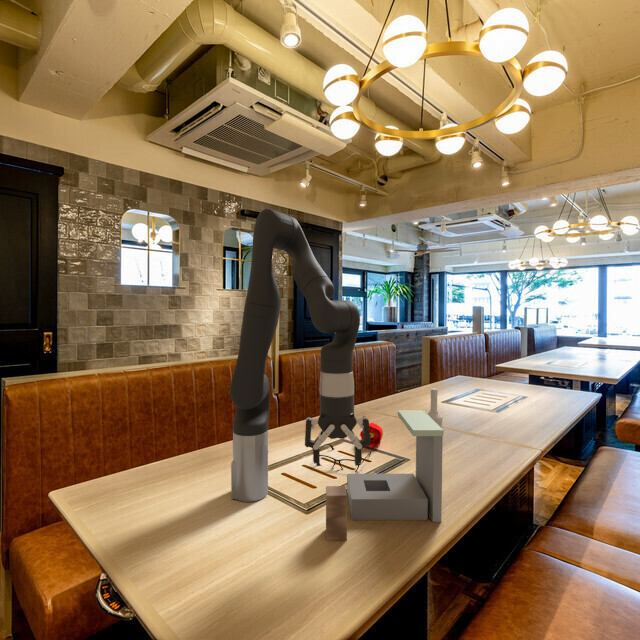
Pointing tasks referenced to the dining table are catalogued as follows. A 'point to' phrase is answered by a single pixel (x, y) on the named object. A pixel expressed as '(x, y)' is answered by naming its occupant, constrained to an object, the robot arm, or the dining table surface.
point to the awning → (427, 457)
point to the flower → (374, 434)
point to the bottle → (435, 408)
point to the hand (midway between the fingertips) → (337, 464)
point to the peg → (336, 513)
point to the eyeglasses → (341, 459)
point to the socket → (386, 497)
